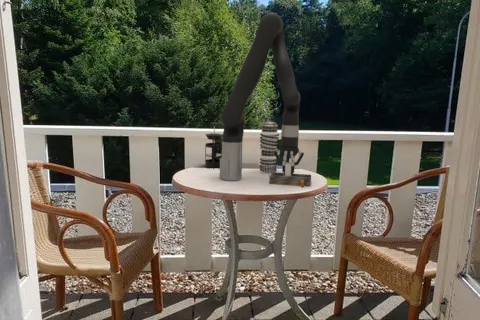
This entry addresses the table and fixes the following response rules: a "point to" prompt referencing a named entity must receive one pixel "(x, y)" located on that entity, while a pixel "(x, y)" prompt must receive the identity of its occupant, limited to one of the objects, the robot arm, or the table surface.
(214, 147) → the french press
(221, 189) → the table surface
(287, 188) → the table surface
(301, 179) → the slider track
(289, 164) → the slider tab
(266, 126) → the decorative candle
